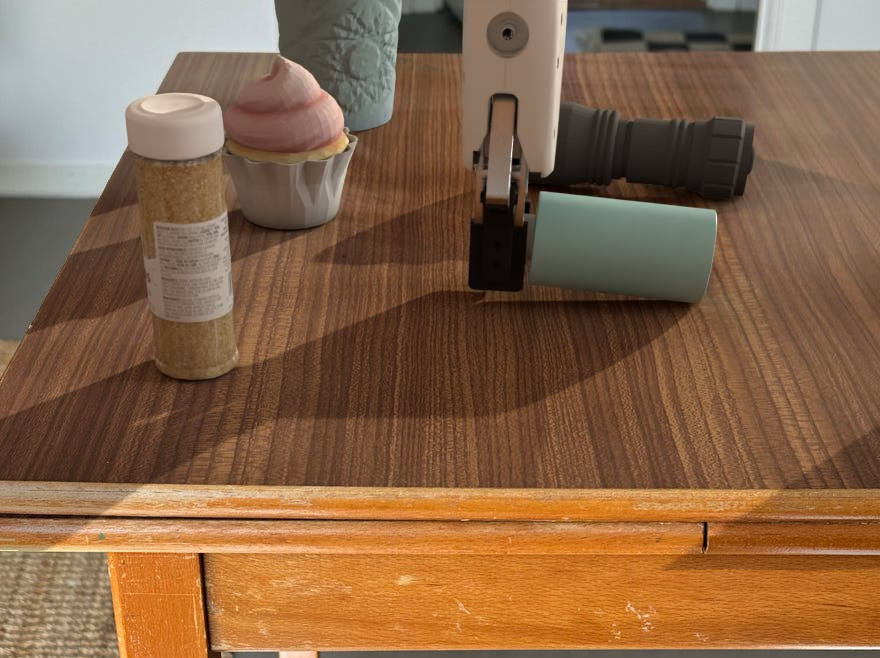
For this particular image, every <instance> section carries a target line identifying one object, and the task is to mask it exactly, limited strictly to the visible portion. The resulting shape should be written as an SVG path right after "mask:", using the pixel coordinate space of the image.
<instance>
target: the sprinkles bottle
mask: <svg viewBox="0 0 880 658" xmlns="http://www.w3.org/2000/svg"><path fill="white" fill-rule="evenodd" d="M124 113H125V114H124V117H125V128H126V135H127V136H126V137H127V144H128V145H127V146H128V148H129V149H130V151H131V152H132V153H131V154H132V155H131V156H132V159H133V160H134V171H135V178H136V190H137V199H138V209H139V217H140V220H139V221H140V237H141V247H142V255H143V265H144V273H145V280H146V281H145V282H146V283H145V284H146V291H147V301H148V307H149V310H150V313H151V322H152V330H153V340H154V341H153V342H154V347H155V350H154V355H153V358H154V364H155V366H156V368H157V369H158V371H159V372H161V374H164V375H166V376H167V377H170V378H173V379H180V380H188V381H195V380H200V381H202V380H208V379H214V378H217V377H220V376H222V375H225V374H227V373H229V372H230V371H232V370H233V369H234V368H235V367H236V366H237V365H238V361H239V356H240V355H239V350H238V347H237V346H236V337H235V324H234V305H235V299H234V284H233V283H234V282H233V272H232V258H231V256H232V255H231V246H230V245H231V244H230V233H229V232H230V231H229V218H228V207H227V204H226V195H225V181H224V169H223V159H222V146H223V144H224V127H223V111H222V107H221V105H220V104H219V103H218V101H216V100H215V99H214V98H211V97H209V96H206V95H201V94H198V93H197V94H196V93H190V92H165V93H159V94H158V93H157V94H152V95H147V96H144V97H140V98H138V99H135V100H134V101H132V102H131V103H130V104H128V105H127V107H126V109H125V111H124Z"/></svg>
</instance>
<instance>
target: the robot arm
mask: <svg viewBox="0 0 880 658" xmlns="http://www.w3.org/2000/svg"><path fill="white" fill-rule="evenodd" d="M462 12H463V14H462V45H461V46H462V49H461V50H462V51H461V141H462V166H463V167H464V168H465V169H466V170H467V171H468V172H469V173H471V175H475V176H476V177H475V193H474V212H473V213H474V217H473V218H470V223H469V224H470V226H469V227H470V228H469V249H468V271H467V272H468V274H467V286H468V288H470V290H473V291H486V292H487V291H491V292H507V293H519V292H521V291H522V290H523V288H524V285H525V273H526V272H525V269H526V265H527V264H526V263H527V261H525V258H526V244H527V230H528V221H524V213H525V214H531V202H532V201H531V199H530V198H527V197H528V186H529V185H528V184H529V183H528V173H529V171H530V172H541V177H542V178H545V177H547V176H548V175H549V174H550V173H551V172H552V171H553V169H554V161H555V151H556V141H557V131H558V120H559V109H560V101H561V93H562V84H563V73H564V58H565V49H566V37H567V36H566V35H567V19H568V0H463V11H462ZM514 211H515V213H514Z"/></svg>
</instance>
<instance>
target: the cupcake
mask: <svg viewBox="0 0 880 658" xmlns="http://www.w3.org/2000/svg"><path fill="white" fill-rule="evenodd" d="M222 119H223V129H224V144H223V146H222V161H223V162H224V164H225V165H226V167H227V169H228V170H229V175H230V177H231V180H232V183H233V186H234V189H235V192H236V195H237V199H238V201H239V202H238V203H239V205H240V208H241V212H242V214H243V215H244V217H245V219H247V220H248V221H249V222H250V223H253V224H255V225H257V226H261V227H265V228H269V229H277V230H298V229H299V230H300V229H308V228H312V227H316V226H320V225H324V224H327V222H329V221H331V220H333V218H335V217H336V216H337V213H338V211H339V208H340V204H341V199H342V193H343V188H344V184H345V180H346V175H347V172H348V168H349V164H350V161H351V159H352V156H353V154H354V150H355V149H356V146H357V144H358V141H359V138H358V137H357V136H356V135H352V134H350V132H349V128H348V127H344V118H343V113H342V111H341V108H340V107H339V105H338V104H337V102H336V100H335V99H334V98H333V97H332V96H331V95H329V94H328V93H327V92H326V91H324V90H323V89H321V88H320V86H319V84H318V83H317V81H316V80H315V78H314V77H313V76H312V74H311V73H309V72H308V71H307V70H306V69H304V68H303V67H302V66H300V65H299V64H296V63H294V62H292V61H290V60H288V59H286V58H284V57H282V56H281V54H277V55H276V56H275V58H274V61H273V63H272V67H271V70H270V73H268V74H267V73H266V74H263V75H260V76H258V77H256V78H253V79H252V80H250V81H249V82H248V83H247V84H246V85H245V86H244V87H243V88H242V90H241V91H240V92H239V93H238V96H237V98H236V100H235V102H232V104H231V105H230V106H229V107H228V108H227V109H226V111H225V113H224V114H223V117H222Z"/></svg>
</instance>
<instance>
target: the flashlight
mask: <svg viewBox="0 0 880 658" xmlns="http://www.w3.org/2000/svg"><path fill="white" fill-rule="evenodd" d="M755 129H756V125H755V123H746V121H745V120H744V119H743V118H742V117H731V116H720V115H719V116H718V115H715V116H713V117H712V118H711V119H710V120H709V119H708V120H707V119H696V118H695V121H689V120H687V119H686V118H683V119H682V120H681V119H679V118H677V117H676V118H672V119H659V118H648V117H639V116H638V117H637V116H636V117H634V118H633V121H631V120H630V119H629V118H626V117H621V111H619V109H614V110H612V109H610V108H606V109H604V108H601V107H600V108H597V109H594V108H592V107H589V106H586V105H583V104H580V103H578V102H573V101H563V100H560V109H559V120H558V131H557V141H556V151H555V161H554V169H553V171H552V172H551V173H550V174H549V175H548V176H547V177H545V178H542V177H541V172H530V171H529V173H528V184H537V185H546V186H547V185H548V186H558V187H569V186H575V185H582V184H588V185H590V186H594V185H596V186H598V187H600V186H602V185H603V186H604V187H606V188H607V187H610V186H611V185H612V182H613V181H614V180H615V181H621V179H625V183H626V184H627V183H628V184H638V185H646V186H647V185H648V186H660V187H662V188H664V189H669V188H671V189H673V190H677V189H684V192H691V193H692V192H693V193H698V194H699V195H700V196H701V198H707V199H716V200H729V201H730V200H731V199H732V198H734V196H735V197H743V196H744V195H745V194H744V193H745V190H746V185H747V180H748V176H749V175H750V174H751V173H752V171H753V168H754V164H755V163H754V162H755V159H756V157H755V156H756V149H755V147H754V136H755ZM612 180H613V181H612Z"/></svg>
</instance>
